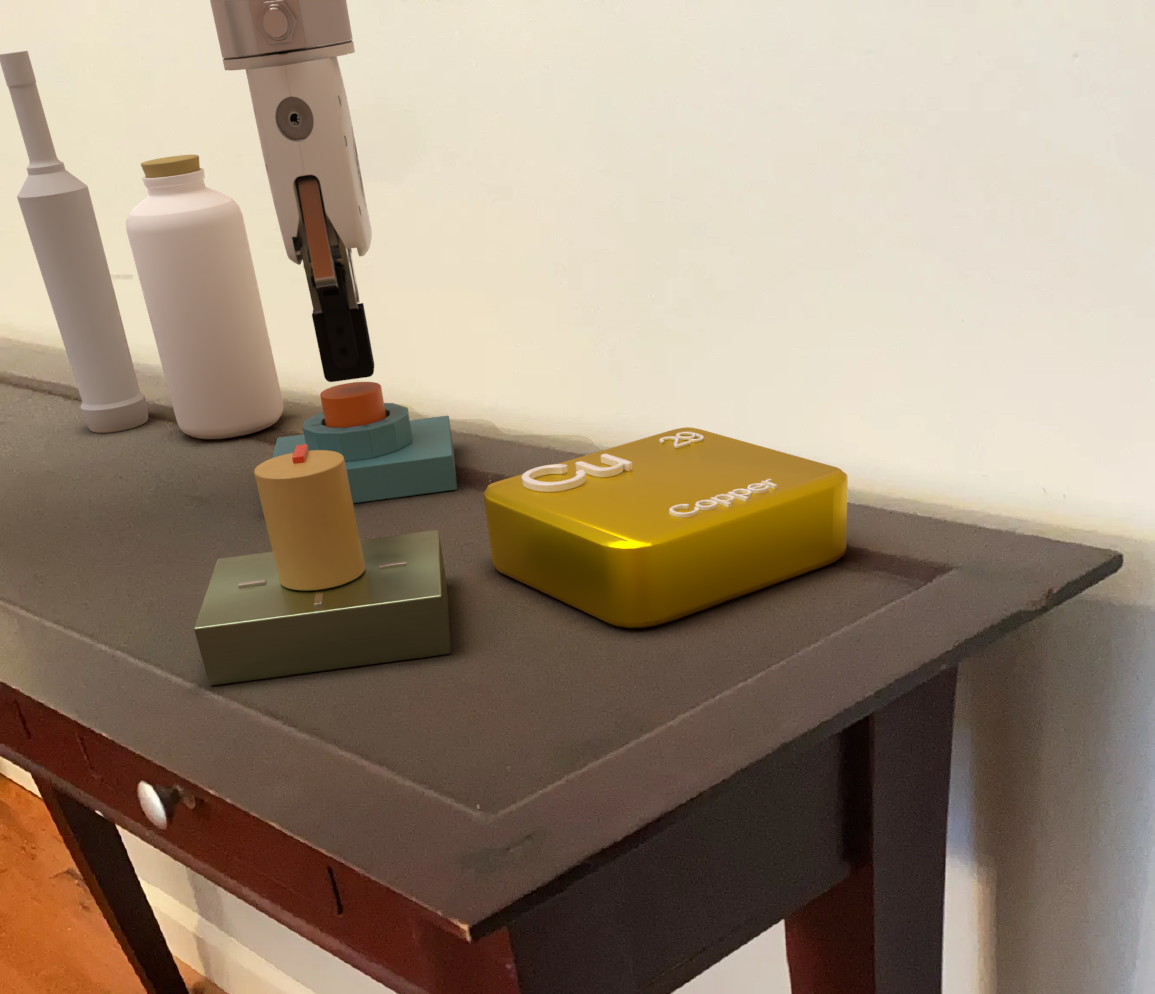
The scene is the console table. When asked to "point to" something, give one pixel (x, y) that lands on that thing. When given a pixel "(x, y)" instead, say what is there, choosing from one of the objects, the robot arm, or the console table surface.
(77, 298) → the bottle
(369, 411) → the button
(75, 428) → the console table surface
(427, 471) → the button base
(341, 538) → the knob
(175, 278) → the potion bottle
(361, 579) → the panel
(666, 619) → the element tile
